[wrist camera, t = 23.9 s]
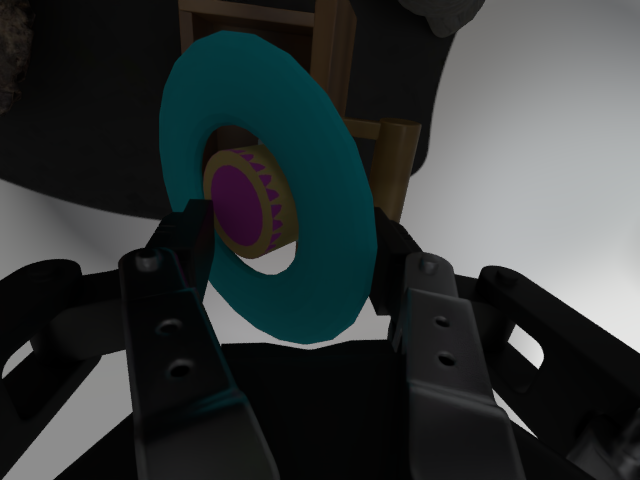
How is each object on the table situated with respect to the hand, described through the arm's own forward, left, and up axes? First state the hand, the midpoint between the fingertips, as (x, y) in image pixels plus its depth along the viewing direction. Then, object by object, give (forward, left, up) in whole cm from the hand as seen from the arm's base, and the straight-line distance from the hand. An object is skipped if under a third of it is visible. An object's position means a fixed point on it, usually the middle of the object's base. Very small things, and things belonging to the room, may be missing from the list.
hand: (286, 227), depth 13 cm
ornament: (-1, -4, -2) cm, 5 cm away
